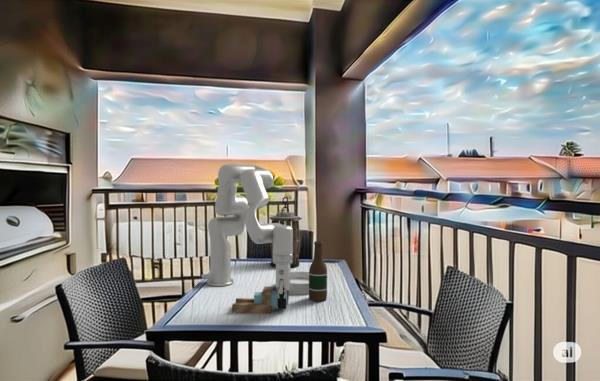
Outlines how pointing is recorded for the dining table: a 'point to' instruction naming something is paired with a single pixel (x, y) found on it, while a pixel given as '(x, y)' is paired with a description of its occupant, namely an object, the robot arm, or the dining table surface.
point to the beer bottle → (318, 275)
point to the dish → (299, 283)
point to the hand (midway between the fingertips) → (282, 306)
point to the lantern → (296, 233)
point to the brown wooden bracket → (248, 304)
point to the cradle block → (277, 292)
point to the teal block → (272, 298)
